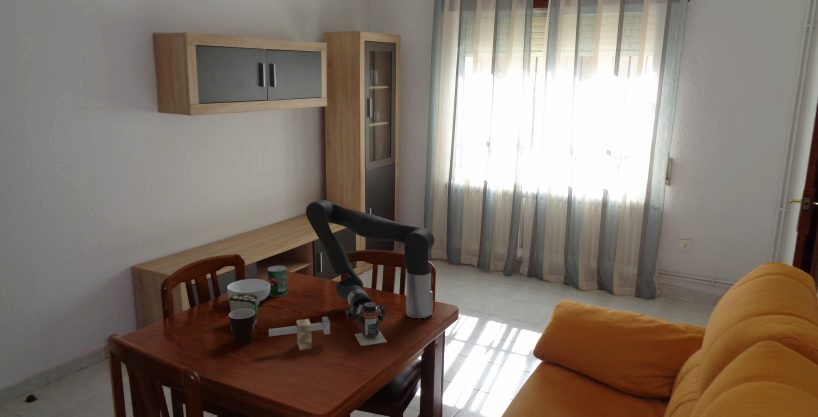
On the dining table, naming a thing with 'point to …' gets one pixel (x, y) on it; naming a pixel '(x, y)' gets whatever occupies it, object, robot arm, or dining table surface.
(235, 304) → the food container
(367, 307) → the supplement bottle
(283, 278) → the canned tomato
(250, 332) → the coffee mug
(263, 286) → the cereal bowl
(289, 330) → the t bolt
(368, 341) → the mat
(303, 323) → the keeper
